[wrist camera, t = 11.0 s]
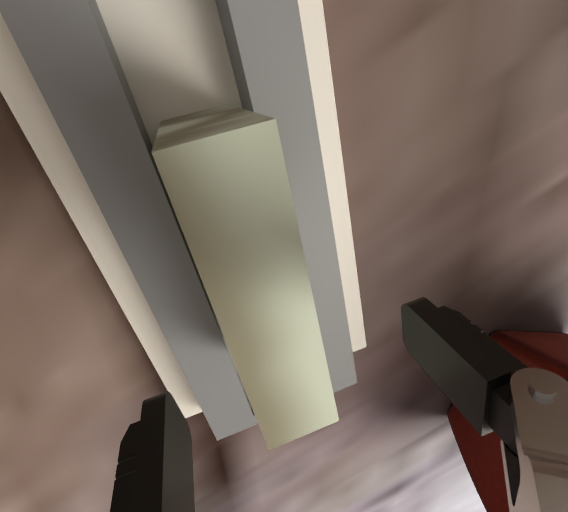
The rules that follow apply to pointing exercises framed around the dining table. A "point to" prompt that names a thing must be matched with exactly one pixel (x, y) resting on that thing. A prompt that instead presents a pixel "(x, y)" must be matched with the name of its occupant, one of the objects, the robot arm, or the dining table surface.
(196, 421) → the dining table surface
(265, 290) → the door panel
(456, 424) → the plant pot
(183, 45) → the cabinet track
